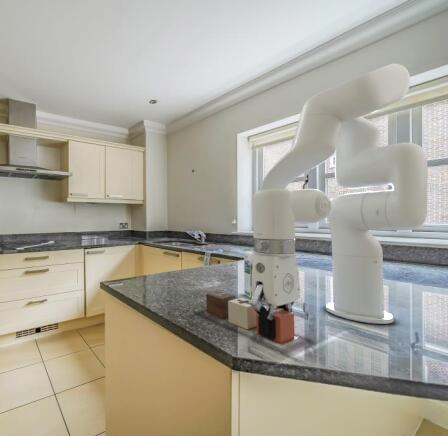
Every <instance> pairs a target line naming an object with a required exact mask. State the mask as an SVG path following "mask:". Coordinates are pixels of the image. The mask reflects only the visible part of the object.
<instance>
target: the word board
mask: <svg viewBox="0 0 448 436" xmlns="http://www.w3.org/2000/svg"><path fill="white" fill-rule="evenodd" d="M203 313H204V314H207V315H209V316H211V317H214V318H216V319H219V320H221V321H224V320H226V321H225V322H226V323H228V324H231V325H233V326H236V327H238V328H240V329H243V330H245V331H248V332H251V331H253V330H257V327H253V328H250V329H245V328H243V327H241V326H238V325H236V324H233V323H231V322H229V320H227V319H228V317H226V318H223V319H222V318H219V317H217V316H215V315H212V314H210V313H207V310H206V311H203ZM253 334H255V335H258V336H260V337H262V338H265V339H267V340H270V341H271V342H274V343H277V344H279V345H281V346H284V345H286V344H288V343H291V342H293V341H296V340H297V339H299V338H300V337H299V336H295V337H294V338H292V339H289V340H287V341H285V342H282V343H279V342H277V341H274V340H272V339H269V338H267V337H265V336H262V335H260V334H257V331H254V332H253Z"/></svg>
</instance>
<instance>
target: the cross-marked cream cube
mask: <svg viewBox="0 0 448 436" xmlns="http://www.w3.org/2000/svg"><path fill="white" fill-rule="evenodd" d="M250 301H251V300H250V299H247V298H243V297H239V298H235V299H234V300H230V301H228V320H227V321H229V322H231V323H233V324H236V325H238V326H241V327H243V328H245V329H250V328H253V327H256V311H255V309H254V308H253V307H252V306H251V305H250ZM231 323H230V324H231ZM233 324H232V325H233ZM236 325H235V326H236ZM238 326H237V327H238ZM243 328H242V329H243ZM245 329H244V330H245Z"/></svg>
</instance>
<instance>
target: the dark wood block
mask: <svg viewBox="0 0 448 436" xmlns="http://www.w3.org/2000/svg"><path fill="white" fill-rule="evenodd" d="M205 297H206V301H205V302H206V311H207V313H210V314H212V315H215V316H217V317H219V318H222V319H223V318H226V317H228V301H230V300H234V299H236V295H234V294H230V293H227V292H224V291H221V290H218V291H217V290H216V291H213V292H207V293H206V294H205ZM207 313H206V314H207ZM219 318H218V319H219Z"/></svg>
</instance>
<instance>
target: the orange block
mask: <svg viewBox="0 0 448 436" xmlns="http://www.w3.org/2000/svg"><path fill="white" fill-rule="evenodd" d="M264 307H265V306H264ZM265 308H266V309H267V311H268V306H266V307H265ZM256 313H257V312H256ZM273 319H274V320H275V339H274V341H277V342H279V343H282V342H285V341H287V340H289V339H292V338H294V337H295V313H294V312H292V313H291V312H288V311H285V310H284V309H281V308H280V309H278V308H276V307H274V314H273ZM256 327H257V329H256V332H257V334H259V330H258V316H257V314H256ZM257 334H256V335H257ZM274 341H273V342H274ZM277 342H276V343H277ZM279 343H278V344H279Z"/></svg>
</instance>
